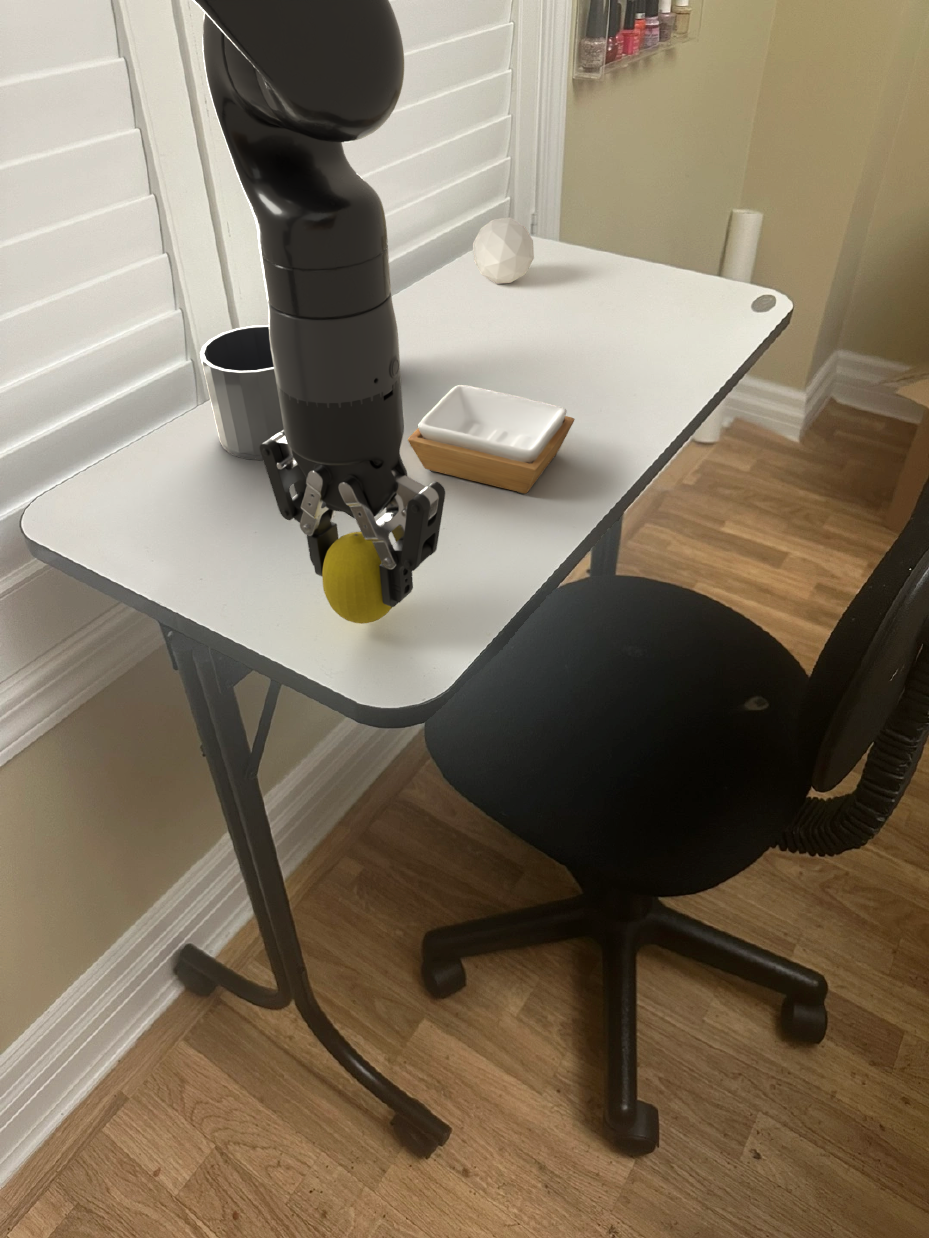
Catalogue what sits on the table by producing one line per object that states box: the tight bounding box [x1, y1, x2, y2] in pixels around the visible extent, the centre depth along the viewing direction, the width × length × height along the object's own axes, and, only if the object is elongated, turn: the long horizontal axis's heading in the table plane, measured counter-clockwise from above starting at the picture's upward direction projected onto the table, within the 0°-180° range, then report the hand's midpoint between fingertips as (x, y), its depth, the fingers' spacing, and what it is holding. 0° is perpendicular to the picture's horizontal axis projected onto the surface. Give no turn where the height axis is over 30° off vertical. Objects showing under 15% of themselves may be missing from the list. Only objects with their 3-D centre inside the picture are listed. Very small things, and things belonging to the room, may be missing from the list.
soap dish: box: [407, 384, 576, 495], centre depth 83 cm, size 12×10×5 cm
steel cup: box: [199, 324, 284, 461], centre depth 86 cm, size 10×10×9 cm
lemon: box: [321, 531, 393, 624], centre depth 65 cm, size 6×6×8 cm
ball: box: [472, 217, 535, 285], centre depth 115 cm, size 8×8×8 cm
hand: (362, 584), depth 66 cm, fingers closed on lemon, 5 cm apart
